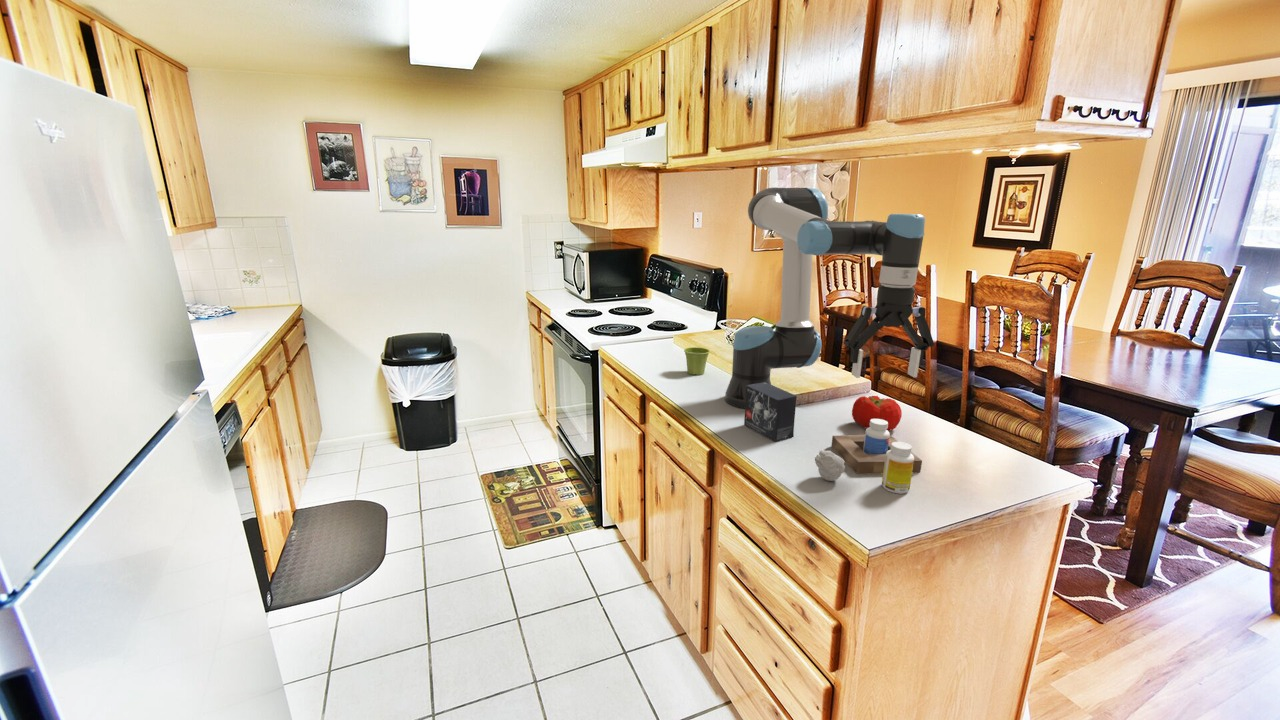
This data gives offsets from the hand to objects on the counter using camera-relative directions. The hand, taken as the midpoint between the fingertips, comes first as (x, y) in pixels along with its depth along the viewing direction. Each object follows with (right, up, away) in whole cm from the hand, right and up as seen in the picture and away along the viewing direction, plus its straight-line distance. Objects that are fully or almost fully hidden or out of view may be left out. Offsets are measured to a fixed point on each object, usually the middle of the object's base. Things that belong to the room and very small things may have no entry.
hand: (884, 376), depth 128 cm
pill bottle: (0, -21, +5) cm, 21 cm away
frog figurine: (-15, -23, -5) cm, 28 cm away
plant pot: (-36, -1, +74) cm, 82 cm away
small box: (-22, -16, +22) cm, 35 cm away
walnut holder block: (0, -20, +5) cm, 21 cm away
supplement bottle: (-1, -25, -9) cm, 26 cm away
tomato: (+9, -15, +25) cm, 31 cm away
